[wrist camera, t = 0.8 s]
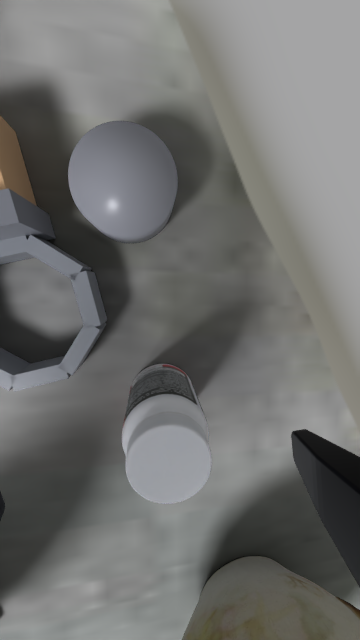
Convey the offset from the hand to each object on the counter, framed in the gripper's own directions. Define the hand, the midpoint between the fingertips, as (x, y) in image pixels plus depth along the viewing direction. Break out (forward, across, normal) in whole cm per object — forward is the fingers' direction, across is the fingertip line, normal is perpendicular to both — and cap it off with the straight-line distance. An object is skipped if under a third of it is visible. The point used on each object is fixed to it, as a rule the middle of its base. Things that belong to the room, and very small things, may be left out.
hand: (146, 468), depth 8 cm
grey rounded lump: (+13, 0, -10) cm, 17 cm away
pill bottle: (+12, +1, +4) cm, 13 cm away
